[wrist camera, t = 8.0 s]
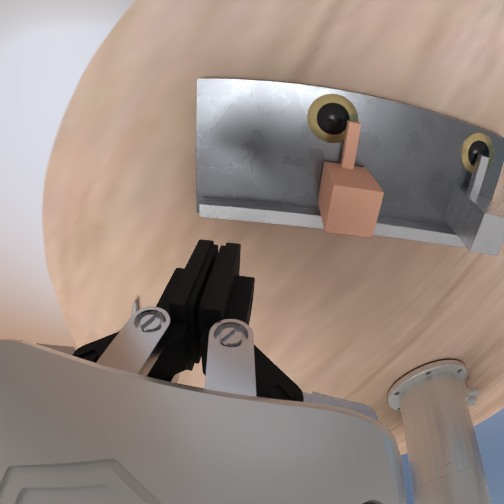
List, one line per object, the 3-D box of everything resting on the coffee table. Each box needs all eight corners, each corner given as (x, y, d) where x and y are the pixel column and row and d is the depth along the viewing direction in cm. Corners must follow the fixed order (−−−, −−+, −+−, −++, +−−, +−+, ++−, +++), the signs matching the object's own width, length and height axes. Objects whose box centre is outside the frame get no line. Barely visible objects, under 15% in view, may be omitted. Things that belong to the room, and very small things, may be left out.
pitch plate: (498, 135, 18) (545, 160, 13) (467, 236, 24) (498, 278, 19) (202, 77, 19) (174, 82, 14) (201, 204, 25) (179, 246, 20)
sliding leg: (374, 124, 18) (395, 140, 15) (357, 206, 22) (371, 237, 18) (330, 117, 18) (342, 130, 15) (317, 201, 22) (324, 232, 18)
